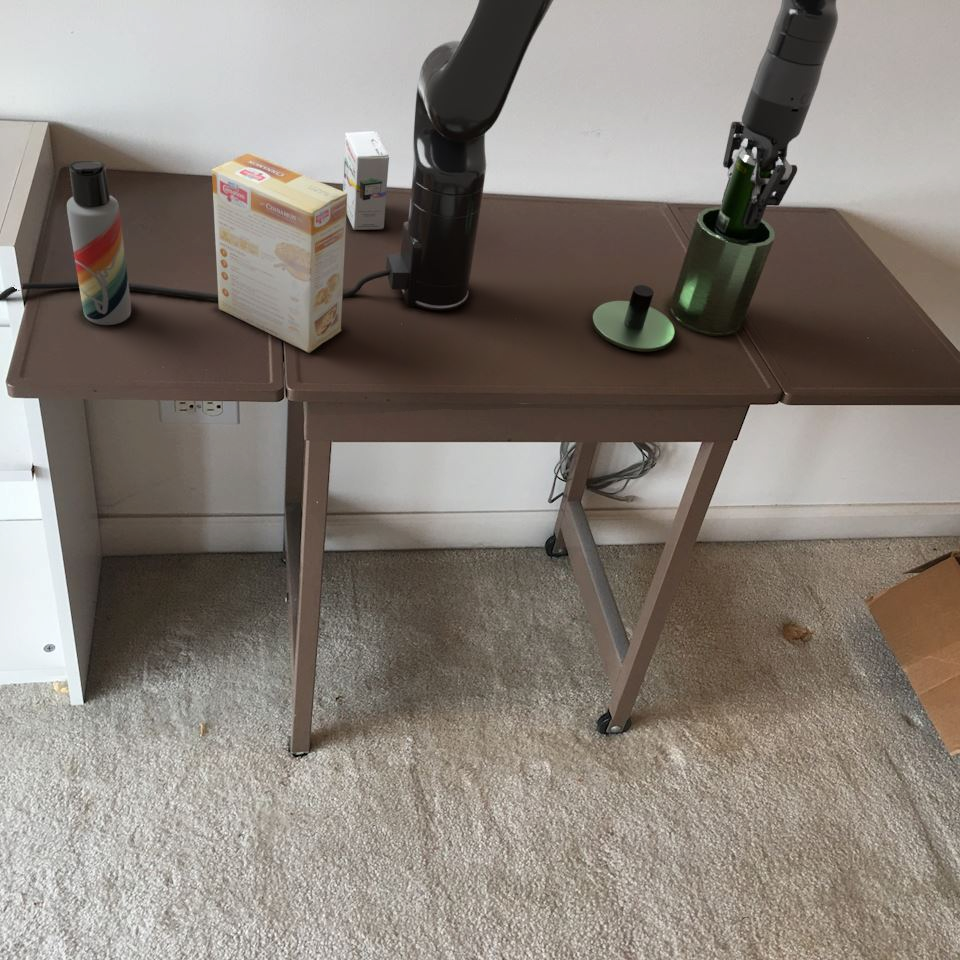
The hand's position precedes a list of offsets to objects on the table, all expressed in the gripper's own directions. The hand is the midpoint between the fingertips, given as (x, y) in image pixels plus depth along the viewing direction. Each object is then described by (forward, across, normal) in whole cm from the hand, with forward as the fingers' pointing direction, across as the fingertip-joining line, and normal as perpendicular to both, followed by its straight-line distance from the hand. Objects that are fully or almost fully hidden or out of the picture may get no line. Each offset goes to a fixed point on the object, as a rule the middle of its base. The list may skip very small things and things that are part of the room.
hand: (739, 215), depth 132 cm
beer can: (+3, 0, 0) cm, 3 cm away
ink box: (+16, -30, -45) cm, 56 cm away
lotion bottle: (+16, -6, -82) cm, 84 cm away
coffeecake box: (+16, -3, -61) cm, 63 cm away
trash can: (+16, 0, 0) cm, 16 cm away
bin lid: (+15, +3, -13) cm, 20 cm away
